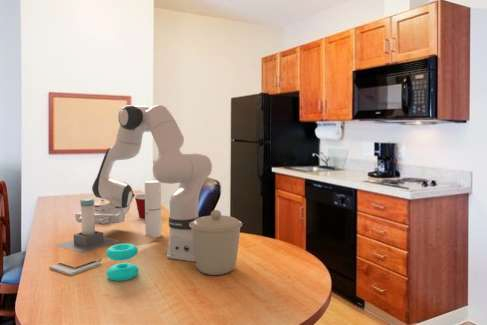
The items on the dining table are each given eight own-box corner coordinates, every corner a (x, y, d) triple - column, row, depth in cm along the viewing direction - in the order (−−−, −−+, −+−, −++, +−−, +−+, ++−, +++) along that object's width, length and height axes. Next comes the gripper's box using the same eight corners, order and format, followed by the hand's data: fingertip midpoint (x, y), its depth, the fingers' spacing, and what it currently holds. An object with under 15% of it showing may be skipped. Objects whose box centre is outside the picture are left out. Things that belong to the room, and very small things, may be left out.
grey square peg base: (121, 244, 157) (120, 231, 156) (83, 256, 141) (82, 242, 141) (93, 237, 166) (93, 225, 165) (55, 248, 151) (55, 235, 150)
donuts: (143, 247, 122) (114, 254, 115) (144, 276, 122) (115, 285, 116) (129, 240, 129) (100, 246, 122) (129, 268, 130) (101, 276, 123)
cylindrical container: (157, 238, 166) (156, 183, 164) (142, 237, 167) (141, 182, 165) (164, 233, 173) (163, 180, 171) (149, 232, 174) (148, 180, 172)
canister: (215, 257, 141) (215, 202, 139) (252, 268, 130) (252, 209, 128) (179, 271, 127) (178, 210, 125) (217, 285, 116) (217, 219, 114)
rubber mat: (101, 264, 133) (101, 262, 133) (70, 275, 123) (70, 273, 123) (80, 258, 139) (80, 256, 139) (49, 268, 129) (49, 266, 129)
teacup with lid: (90, 220, 197) (90, 199, 196) (106, 217, 204) (105, 196, 203) (102, 224, 190) (102, 202, 189) (118, 221, 197) (117, 199, 196)
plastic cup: (142, 220, 199) (142, 198, 198) (130, 217, 205) (130, 195, 204) (158, 216, 208) (158, 195, 207) (146, 213, 214) (145, 193, 213)
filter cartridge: (98, 242, 154) (96, 199, 153) (87, 245, 150) (85, 201, 148) (90, 240, 157) (88, 198, 155) (79, 243, 153) (77, 200, 151)
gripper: (85, 206, 169) (66, 212, 155) (127, 207, 166) (112, 214, 152) (85, 219, 169) (67, 227, 156) (127, 221, 166) (112, 229, 153)
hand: (89, 221), depth 154 cm, fingers open, 8 cm apart
